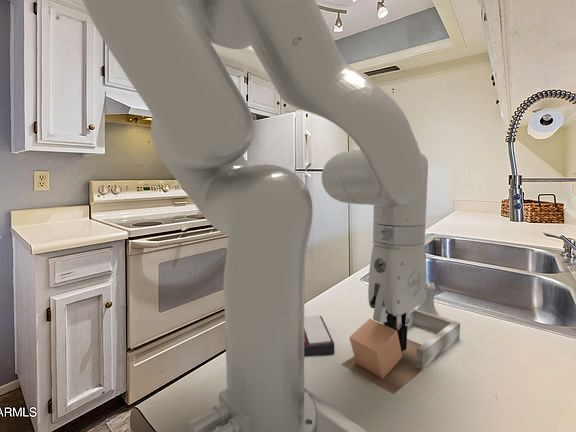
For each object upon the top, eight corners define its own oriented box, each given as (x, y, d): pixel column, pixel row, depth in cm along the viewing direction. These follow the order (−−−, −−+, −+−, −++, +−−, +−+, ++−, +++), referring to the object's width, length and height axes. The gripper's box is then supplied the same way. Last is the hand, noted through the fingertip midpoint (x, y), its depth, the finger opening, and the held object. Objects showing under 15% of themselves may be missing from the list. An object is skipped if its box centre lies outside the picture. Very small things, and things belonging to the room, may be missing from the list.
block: (382, 378, 45) (376, 351, 44) (356, 362, 49) (349, 337, 48) (402, 356, 48) (397, 330, 46) (375, 343, 52) (369, 318, 50)
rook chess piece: (441, 323, 66) (443, 286, 65) (420, 323, 66) (421, 286, 65) (432, 314, 70) (434, 279, 69) (412, 314, 70) (413, 279, 69)
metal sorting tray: (393, 404, 42) (394, 372, 42) (340, 373, 49) (341, 345, 48) (458, 346, 56) (460, 322, 56) (411, 329, 63) (412, 307, 63)
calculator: (244, 318, 61) (321, 311, 62) (246, 339, 61) (322, 332, 63) (242, 349, 50) (334, 339, 51) (244, 374, 50) (335, 364, 52)
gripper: (394, 245, 40) (390, 378, 42) (444, 232, 50) (439, 341, 52) (348, 237, 46) (346, 355, 48) (401, 227, 56) (397, 325, 58)
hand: (394, 347), depth 50 cm, fingers closed
